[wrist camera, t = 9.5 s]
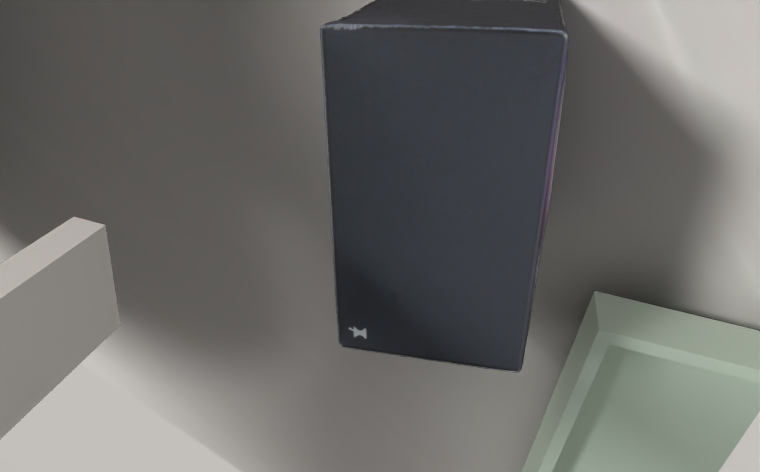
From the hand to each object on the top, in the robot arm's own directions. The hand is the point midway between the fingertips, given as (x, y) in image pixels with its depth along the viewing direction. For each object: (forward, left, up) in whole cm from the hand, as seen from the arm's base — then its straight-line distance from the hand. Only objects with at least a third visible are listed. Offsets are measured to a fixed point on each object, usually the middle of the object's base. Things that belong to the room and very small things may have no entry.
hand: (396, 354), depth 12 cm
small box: (0, 0, -16) cm, 16 cm away
